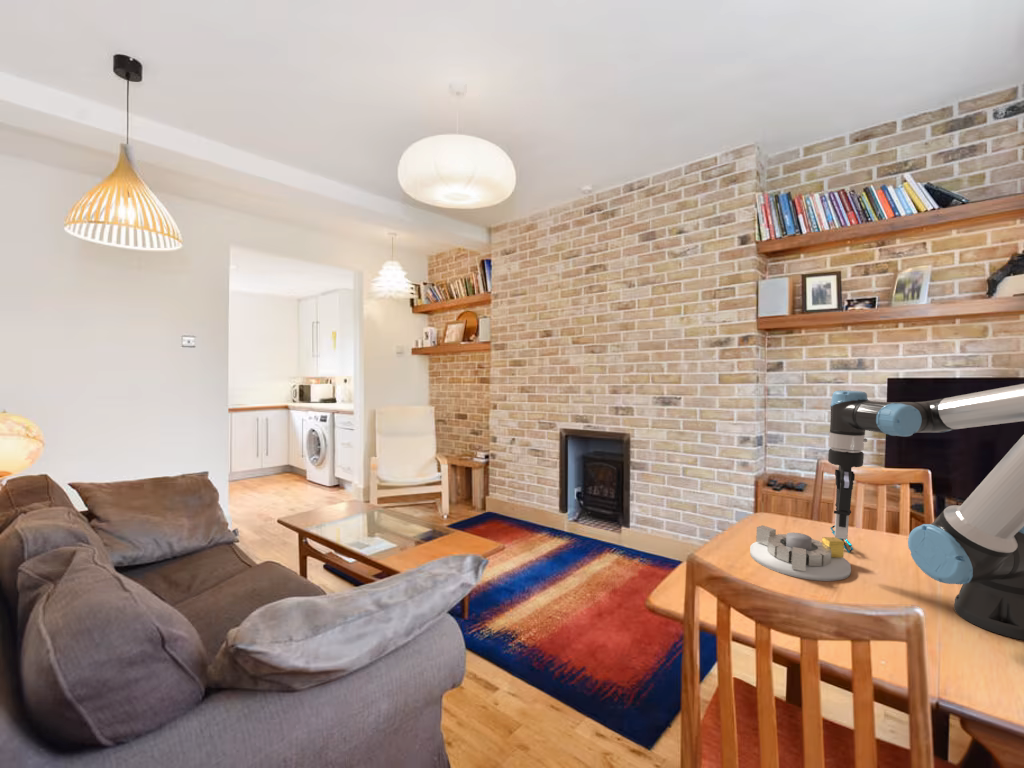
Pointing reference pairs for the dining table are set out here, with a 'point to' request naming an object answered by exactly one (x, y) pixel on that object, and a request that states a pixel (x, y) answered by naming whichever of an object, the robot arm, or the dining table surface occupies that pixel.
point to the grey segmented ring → (800, 549)
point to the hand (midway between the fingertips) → (841, 537)
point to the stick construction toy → (843, 540)
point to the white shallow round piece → (830, 572)
